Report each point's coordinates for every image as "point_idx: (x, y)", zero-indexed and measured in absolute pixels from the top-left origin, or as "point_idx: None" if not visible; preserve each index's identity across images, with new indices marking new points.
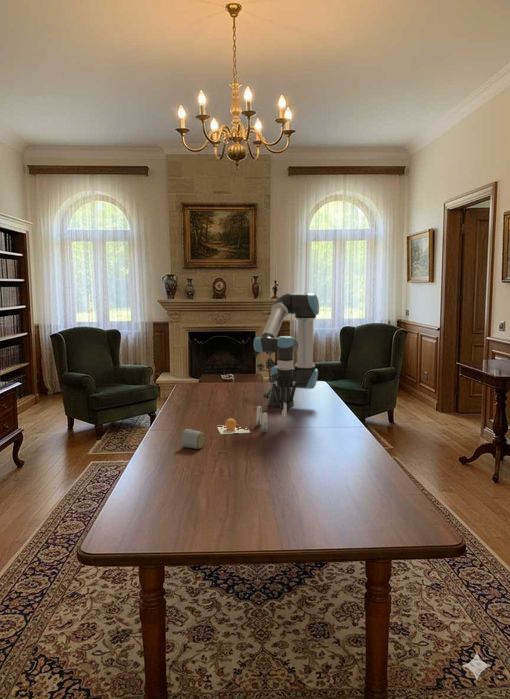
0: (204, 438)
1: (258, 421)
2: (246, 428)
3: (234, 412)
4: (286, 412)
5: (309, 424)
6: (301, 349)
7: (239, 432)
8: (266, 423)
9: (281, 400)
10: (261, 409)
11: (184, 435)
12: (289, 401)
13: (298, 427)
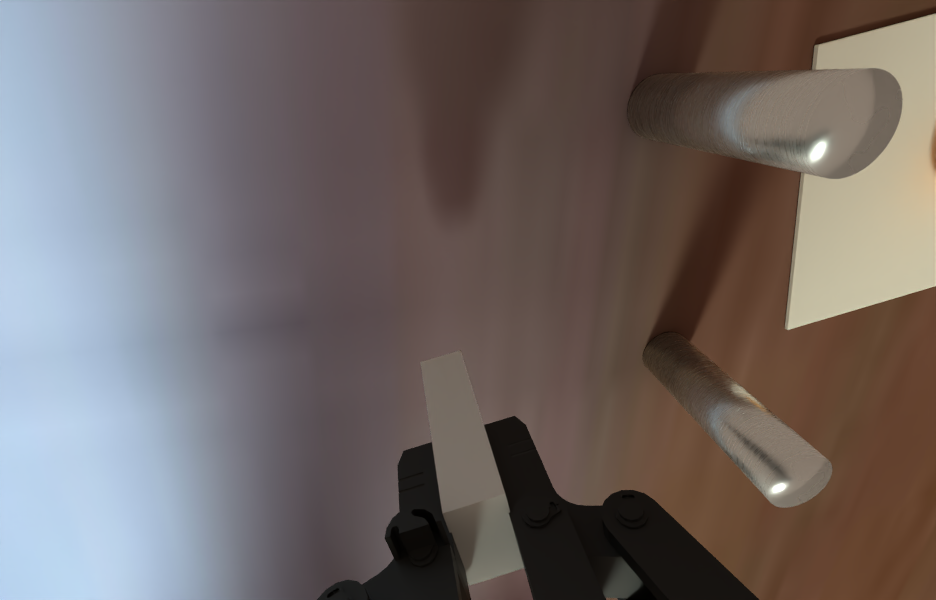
0: None
1: (697, 351)
2: (811, 204)
3: (765, 592)
4: (427, 398)
5: (170, 439)
6: None
7: (927, 38)
8: (711, 79)
9: (583, 551)
10: (755, 451)
11: None
12: (385, 593)
13: (277, 321)
